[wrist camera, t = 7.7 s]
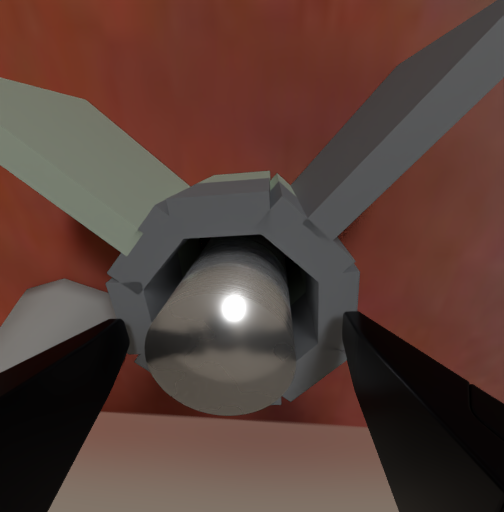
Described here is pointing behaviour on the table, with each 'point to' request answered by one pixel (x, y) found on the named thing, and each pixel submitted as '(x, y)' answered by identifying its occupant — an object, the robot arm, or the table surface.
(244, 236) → the pin
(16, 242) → the table surface
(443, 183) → the table surface
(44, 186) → the pale green bracket
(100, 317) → the flask
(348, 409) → the table surface
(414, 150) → the grey hollow faceted fixture
